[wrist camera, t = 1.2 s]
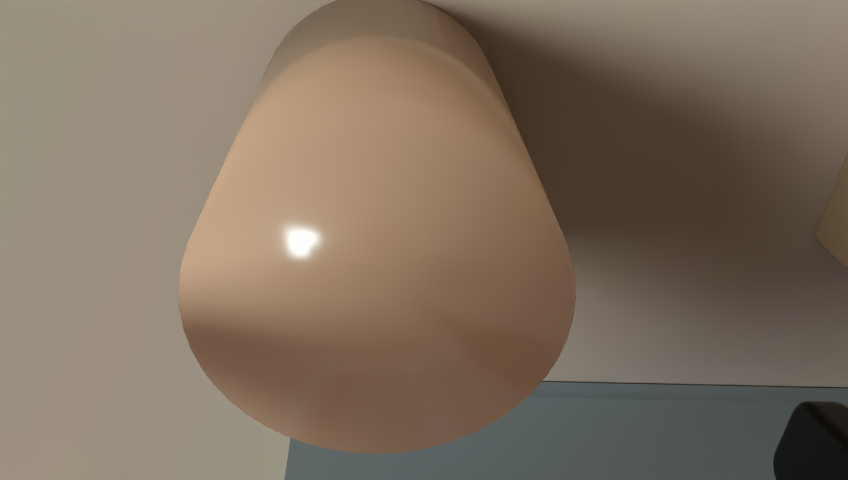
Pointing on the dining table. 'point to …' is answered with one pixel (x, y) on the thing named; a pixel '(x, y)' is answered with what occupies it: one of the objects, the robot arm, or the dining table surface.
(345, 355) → the brown egg
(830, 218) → the walnut cube
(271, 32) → the dining table surface
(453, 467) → the tote
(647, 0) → the dining table surface
